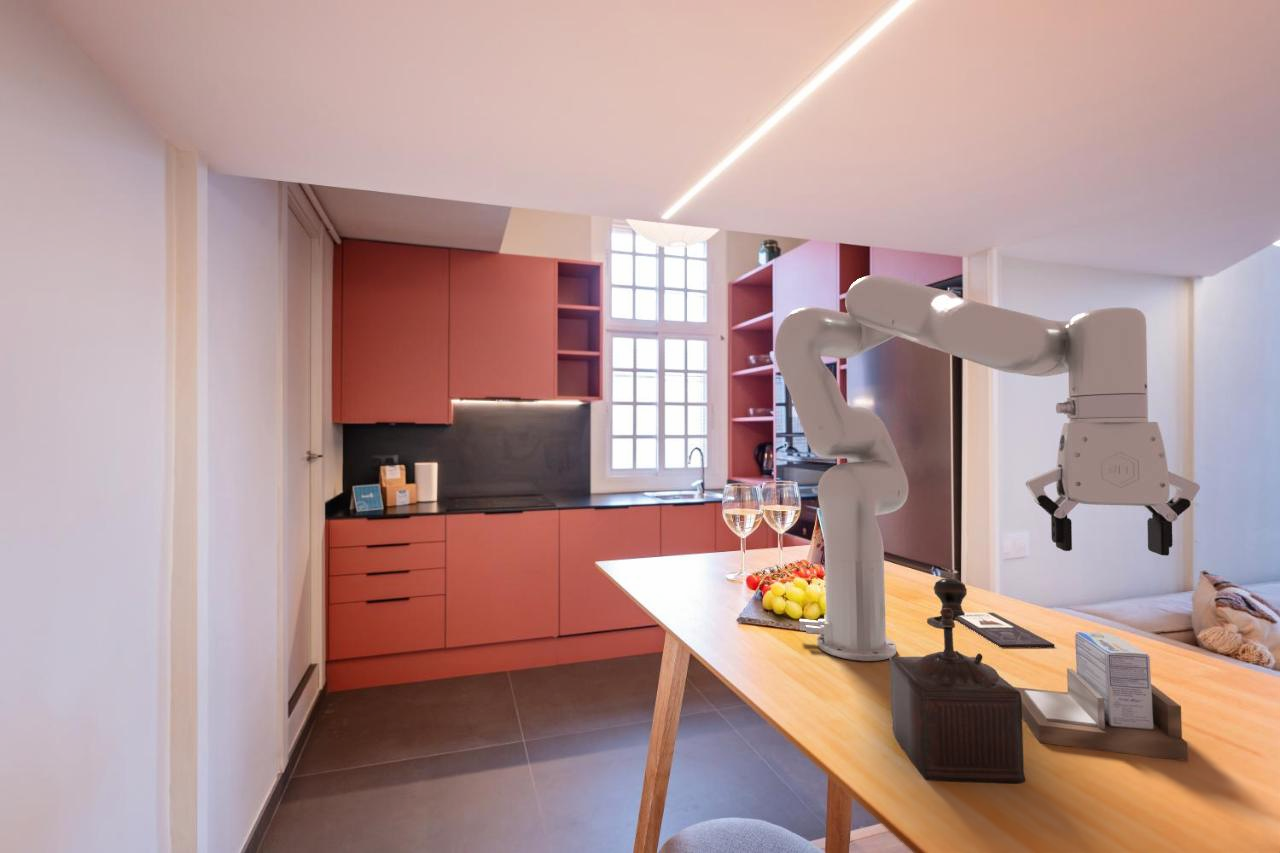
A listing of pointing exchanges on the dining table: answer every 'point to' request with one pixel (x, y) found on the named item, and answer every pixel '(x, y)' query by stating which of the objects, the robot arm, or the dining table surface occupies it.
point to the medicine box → (1117, 678)
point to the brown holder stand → (1101, 721)
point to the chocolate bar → (1002, 631)
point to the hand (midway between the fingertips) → (1110, 551)
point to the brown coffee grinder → (956, 708)
